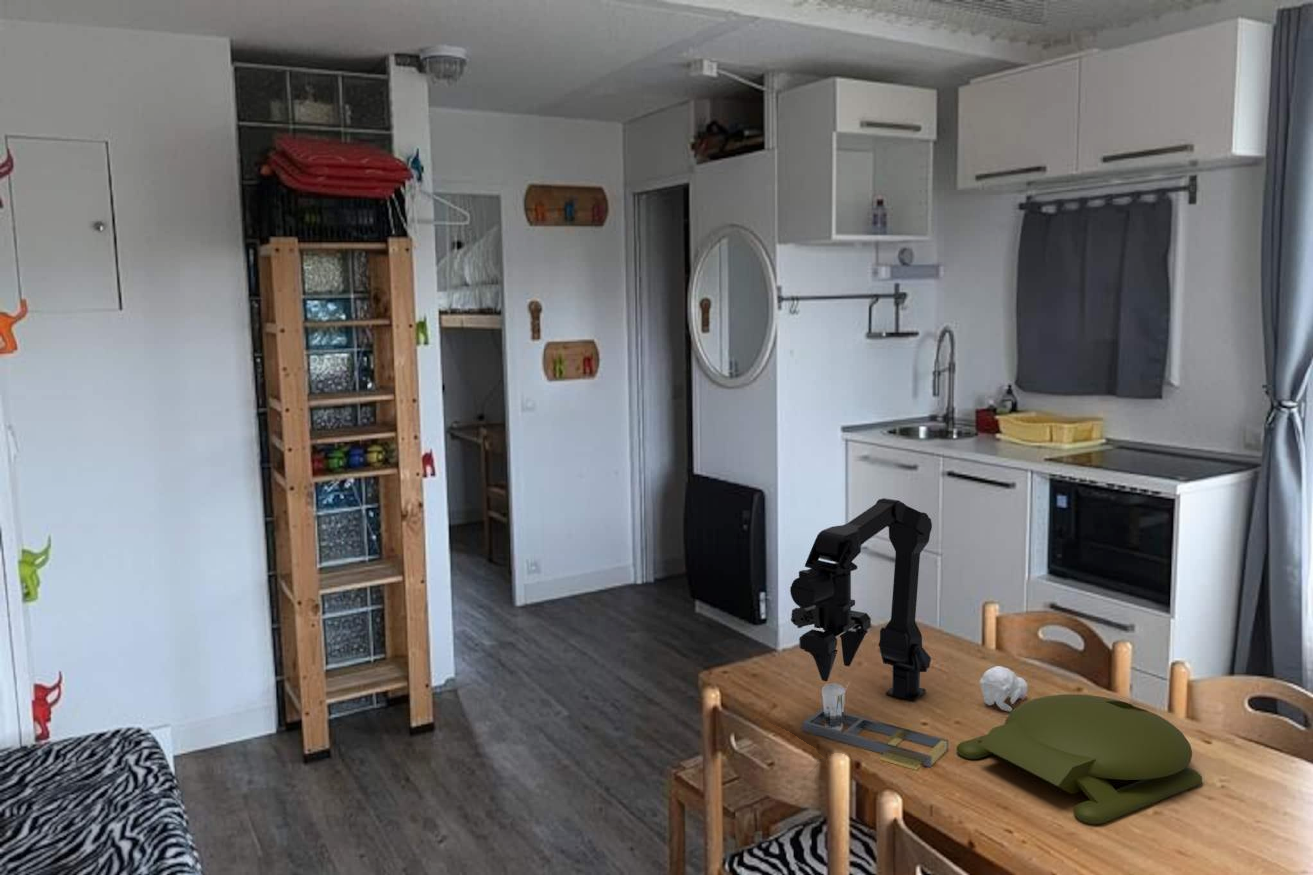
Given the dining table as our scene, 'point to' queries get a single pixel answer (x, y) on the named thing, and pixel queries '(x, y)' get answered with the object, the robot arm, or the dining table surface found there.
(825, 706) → the milkshake
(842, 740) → the rail
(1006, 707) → the white bear figurine
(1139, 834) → the dining table surface
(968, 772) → the dining table surface
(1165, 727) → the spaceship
